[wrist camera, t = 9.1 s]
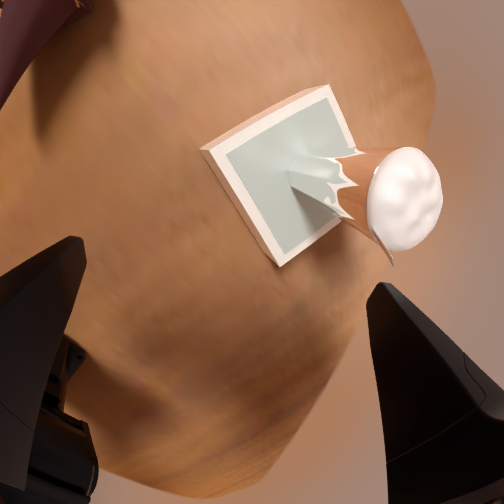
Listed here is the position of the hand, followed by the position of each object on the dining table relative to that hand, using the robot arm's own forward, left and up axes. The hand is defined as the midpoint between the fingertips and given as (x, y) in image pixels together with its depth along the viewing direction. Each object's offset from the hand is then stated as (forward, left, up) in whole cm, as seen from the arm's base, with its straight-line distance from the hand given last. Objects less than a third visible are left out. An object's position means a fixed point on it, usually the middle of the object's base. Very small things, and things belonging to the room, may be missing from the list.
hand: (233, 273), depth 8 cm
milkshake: (+6, -4, -9) cm, 12 cm away
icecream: (+3, +16, -12) cm, 21 cm away
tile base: (+6, -4, -12) cm, 14 cm away
